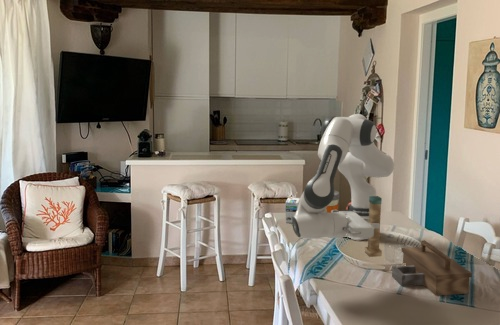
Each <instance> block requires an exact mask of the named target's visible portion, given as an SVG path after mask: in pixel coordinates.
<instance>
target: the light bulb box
mask: <svg viewBox="0 0 500 325" xmlns="http://www.w3.org/2000/svg"><path fill="white" fill-rule="evenodd" d="M299 200H300V197H290V196H289V197H287V199H286V201H285V223H286V224H287V223H288V224H289V223H290V224H292V218H293V217H294V215H295V213H296V211H297V209H298V205H299Z"/></svg>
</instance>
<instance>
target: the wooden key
mask: <svg viewBox="0 0 500 325" xmlns="http://www.w3.org/2000/svg"><path fill="white" fill-rule="evenodd" d="M369 202H370V205H369V223H374V222H378V223H379V224H380V225H381V213H382V212H381V211H382V197H380V196H378V195H376V196H369ZM380 230H381V227H380V228H375V229H374V236H373V237H371V238H368V239H367V246H365V247H364V253H365V254H366V256H368V257H369V258H373V257H375V258H376V257H382V254H383V253H382V252H383V250H382V249H381V248H380V236H381V235H380V234H381V231H380Z"/></svg>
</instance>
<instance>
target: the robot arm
mask: <svg viewBox="0 0 500 325" xmlns="http://www.w3.org/2000/svg"><path fill="white" fill-rule="evenodd" d="M376 137H377V125H376V123H375V122H374V121H372V120H370V119H367V117H366V116H364V115H363V114H361V113H355V114H351V115H349V116H335V115H333V116H328V117H326V118H325V119H324V120H323V122H322V126H321V139H320V141H319V146H318V149H317V156H318V159H320V160H321V161H320V162H319V165H318V169H317V171H316V173H315V175H314V176H313V177H312V178H310V180H309V181H308V182H307V183H306V185H305V187H304V190H303V192H302V193H301V195H300V197H299V198H300V200H299V205H298V209H297V211H296V213H295V215H294V217H293V218H292V223H291V225H292V230H293V232H294V233H295V235H296V236H297V237H298V238H301V239H304V240H305V239H306V240H307V239H308V240H310V239H311V240H319V239H322V238H328V239H340V238H341V239H342V238H343V237H346V235H347V234H350V236H348V237H349V238H351V239H350V240H354V241H357V242H358V241H363V240H368V238H371V237H373V236H374V229H375V228H380V229H381V223H380V224H379V223H378V222H374V223H369V205H370V202H369V196H377V190H376V188H375V187H374V186H373V185H372V184H370V183H369V182H367V181H366V179H365V177H369V178H376V179H377V178H378V179H379V178H387V177H389V176H391V174H392V173H394V172H393V171H394V169H395V162H394V159H393V158H392V157H391V156H390V155H389V154H386V153H385V152H383V151H382V150H380V149H379V147H377V146H376V144H375V140H376ZM337 171H339V172H340V174H342V175H343V177H345V179H346V181H348V184H349V187H350V194H351V196H350V197H351V198H350V200H351V202H349V203H348V204H347V206H346V209H345V210H338V211H337V210H332V212H331V213H328V212H327V210H326V207H327V206H328V205H329V204H330V203H331V201H332V200H333V198H334V191H335V187H334V186H335V185H334V181H335V180H334V179H335V177H336V173H337Z"/></svg>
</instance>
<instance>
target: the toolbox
mask: <svg viewBox="0 0 500 325" xmlns="http://www.w3.org/2000/svg"><path fill="white" fill-rule="evenodd" d="M401 252H402V254H403V255H402V264H403V263H406V266H403V265H395V266H392V269H391V270H392V271H391V277H392V278H393V279H394V280H395V281H396V282H397V283H398V284H399V285H400V286H401V287H407V286H408V287H409V286H421V285H422V286H424V287H425V288H426V289H428V290H429V292H431V293H432V294H433V295H434V296H447V295H448V296H449V295H463V294H469V291H470V278H473V273H472V272H471V271H470V270H468V269H467V268H466V267H464V266H463V265H461V264H460V263H458V262H457V261H456V260H454V259H452V258H451V257H450V256H448V255H446V254H445V253H444V252H443V251H441V250H440V249H438V248H437V247H435V246H434V245H432V244H430V242H427V240H420V246H411V247H410V246H409V247H407V246H406V247H401Z"/></svg>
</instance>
